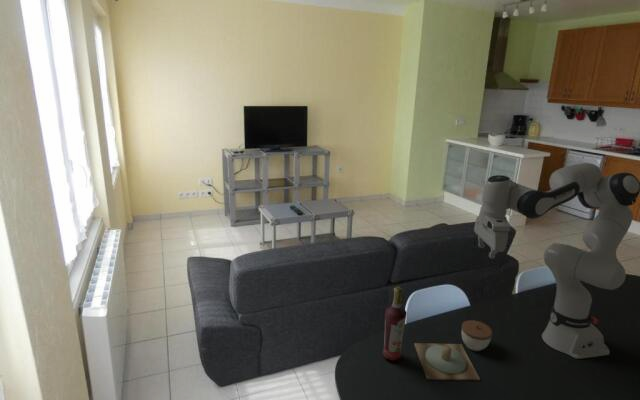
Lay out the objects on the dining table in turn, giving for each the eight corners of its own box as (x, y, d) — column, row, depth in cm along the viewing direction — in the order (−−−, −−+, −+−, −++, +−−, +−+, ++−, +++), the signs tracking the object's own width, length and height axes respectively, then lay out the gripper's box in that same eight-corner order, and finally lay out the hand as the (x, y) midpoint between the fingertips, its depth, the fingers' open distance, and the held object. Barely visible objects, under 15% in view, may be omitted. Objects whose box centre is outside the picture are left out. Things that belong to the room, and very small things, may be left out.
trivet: (461, 345, 146) (461, 344, 146) (480, 380, 129) (480, 379, 129) (414, 344, 146) (414, 343, 146) (427, 379, 129) (427, 378, 128)
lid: (457, 347, 144) (459, 336, 143) (472, 374, 131) (474, 362, 129) (420, 346, 144) (422, 335, 142) (431, 373, 130) (433, 362, 129)
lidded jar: (491, 357, 140) (496, 335, 137) (461, 352, 142) (464, 331, 139) (485, 339, 150) (489, 318, 147) (457, 335, 152) (460, 314, 149)
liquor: (390, 366, 134) (397, 296, 126) (377, 354, 140) (383, 286, 132) (406, 358, 138) (413, 290, 130) (392, 347, 144) (398, 281, 136)
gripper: (472, 209, 152) (467, 241, 156) (495, 228, 133) (489, 264, 137) (488, 210, 152) (483, 241, 157) (513, 228, 133) (506, 264, 137)
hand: (486, 252), depth 147 cm, fingers open, 8 cm apart
